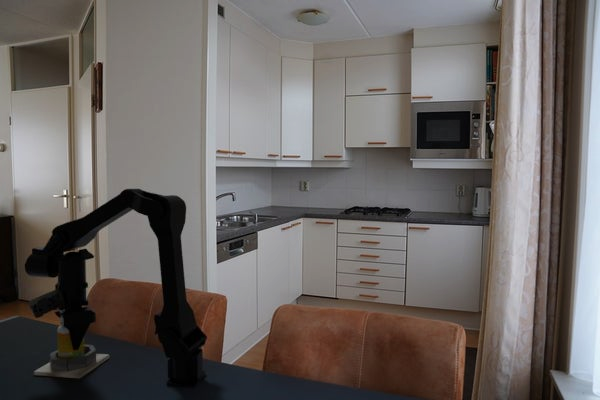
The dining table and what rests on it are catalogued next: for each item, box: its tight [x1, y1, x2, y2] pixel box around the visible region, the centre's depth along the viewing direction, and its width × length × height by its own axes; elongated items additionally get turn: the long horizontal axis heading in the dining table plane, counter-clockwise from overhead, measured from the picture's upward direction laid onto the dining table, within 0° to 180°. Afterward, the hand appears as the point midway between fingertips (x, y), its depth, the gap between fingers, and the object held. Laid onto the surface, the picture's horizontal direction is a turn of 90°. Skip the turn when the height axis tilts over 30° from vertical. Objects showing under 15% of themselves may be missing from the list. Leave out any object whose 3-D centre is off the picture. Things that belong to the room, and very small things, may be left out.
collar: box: [33, 344, 110, 379], centre depth 99 cm, size 11×11×3 cm
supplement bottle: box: [56, 319, 85, 359], centre depth 98 cm, size 5×5×10 cm
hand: (73, 345), depth 99 cm, fingers closed on supplement bottle, 5 cm apart
